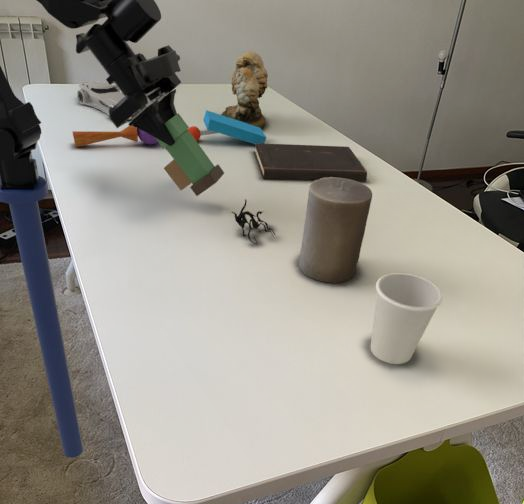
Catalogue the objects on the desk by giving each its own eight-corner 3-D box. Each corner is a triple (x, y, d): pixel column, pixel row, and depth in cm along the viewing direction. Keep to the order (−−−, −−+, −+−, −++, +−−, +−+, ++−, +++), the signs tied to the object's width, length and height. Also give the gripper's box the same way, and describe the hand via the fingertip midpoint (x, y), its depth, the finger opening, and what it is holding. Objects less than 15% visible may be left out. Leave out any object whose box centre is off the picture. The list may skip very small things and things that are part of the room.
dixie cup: (359, 364, 73) (375, 301, 66) (362, 327, 79) (377, 267, 73) (423, 375, 72) (445, 313, 66) (420, 338, 78) (440, 278, 72)
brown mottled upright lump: (218, 110, 154) (220, 41, 143) (259, 112, 156) (265, 44, 145) (224, 131, 140) (227, 57, 130) (269, 133, 142) (276, 60, 132)
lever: (251, 154, 142) (183, 133, 135) (260, 127, 138) (191, 105, 131) (256, 164, 137) (186, 143, 130) (266, 137, 133) (194, 114, 126)
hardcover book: (254, 152, 130) (254, 143, 129) (347, 156, 134) (349, 146, 132) (263, 179, 118) (264, 169, 117) (365, 182, 122) (367, 172, 120)
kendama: (70, 123, 124) (158, 114, 129) (76, 151, 127) (162, 141, 132) (71, 126, 119) (163, 117, 124) (78, 155, 122) (166, 144, 127)
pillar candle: (367, 276, 90) (388, 189, 81) (319, 288, 86) (335, 198, 77) (333, 249, 97) (349, 165, 87) (286, 259, 92) (297, 172, 83)
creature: (279, 235, 101) (240, 216, 102) (288, 210, 98) (248, 191, 98) (263, 253, 95) (223, 233, 96) (273, 228, 92) (231, 207, 93)
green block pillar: (151, 185, 103) (151, 116, 95) (161, 175, 106) (162, 109, 98) (214, 200, 101) (220, 132, 93) (222, 190, 105) (229, 123, 97)
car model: (115, 122, 138) (113, 101, 135) (68, 97, 151) (66, 77, 148) (152, 116, 145) (152, 96, 142) (104, 92, 158) (103, 73, 155)
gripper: (125, 38, 81) (191, 130, 87) (172, 21, 96) (226, 101, 102) (80, 84, 87) (145, 167, 93) (130, 61, 102) (184, 134, 107)
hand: (177, 140), depth 99 cm, fingers closed on green block pillar, 4 cm apart
